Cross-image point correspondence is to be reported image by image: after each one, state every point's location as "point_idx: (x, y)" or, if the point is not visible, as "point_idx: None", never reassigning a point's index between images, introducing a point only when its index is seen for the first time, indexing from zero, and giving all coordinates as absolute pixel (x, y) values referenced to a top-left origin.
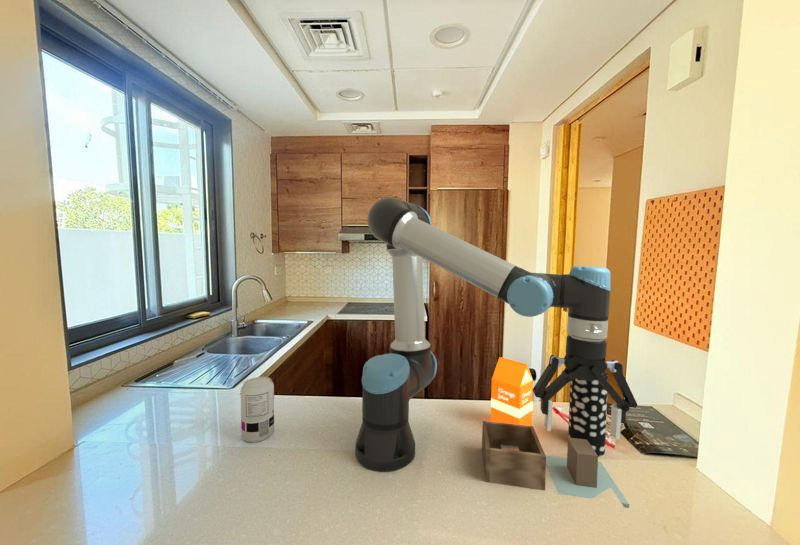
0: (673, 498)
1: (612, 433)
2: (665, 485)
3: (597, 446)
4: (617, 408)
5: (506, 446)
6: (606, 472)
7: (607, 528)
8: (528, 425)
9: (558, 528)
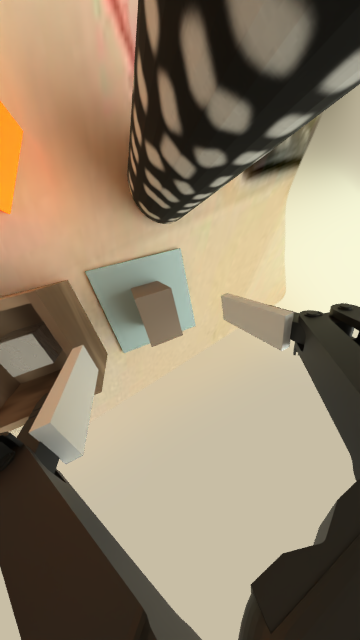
0: (238, 284)
1: (224, 306)
2: (240, 261)
3: (183, 215)
4: (284, 343)
5: (4, 348)
6: (183, 274)
7: (169, 362)
8: (4, 139)
9: (127, 388)
